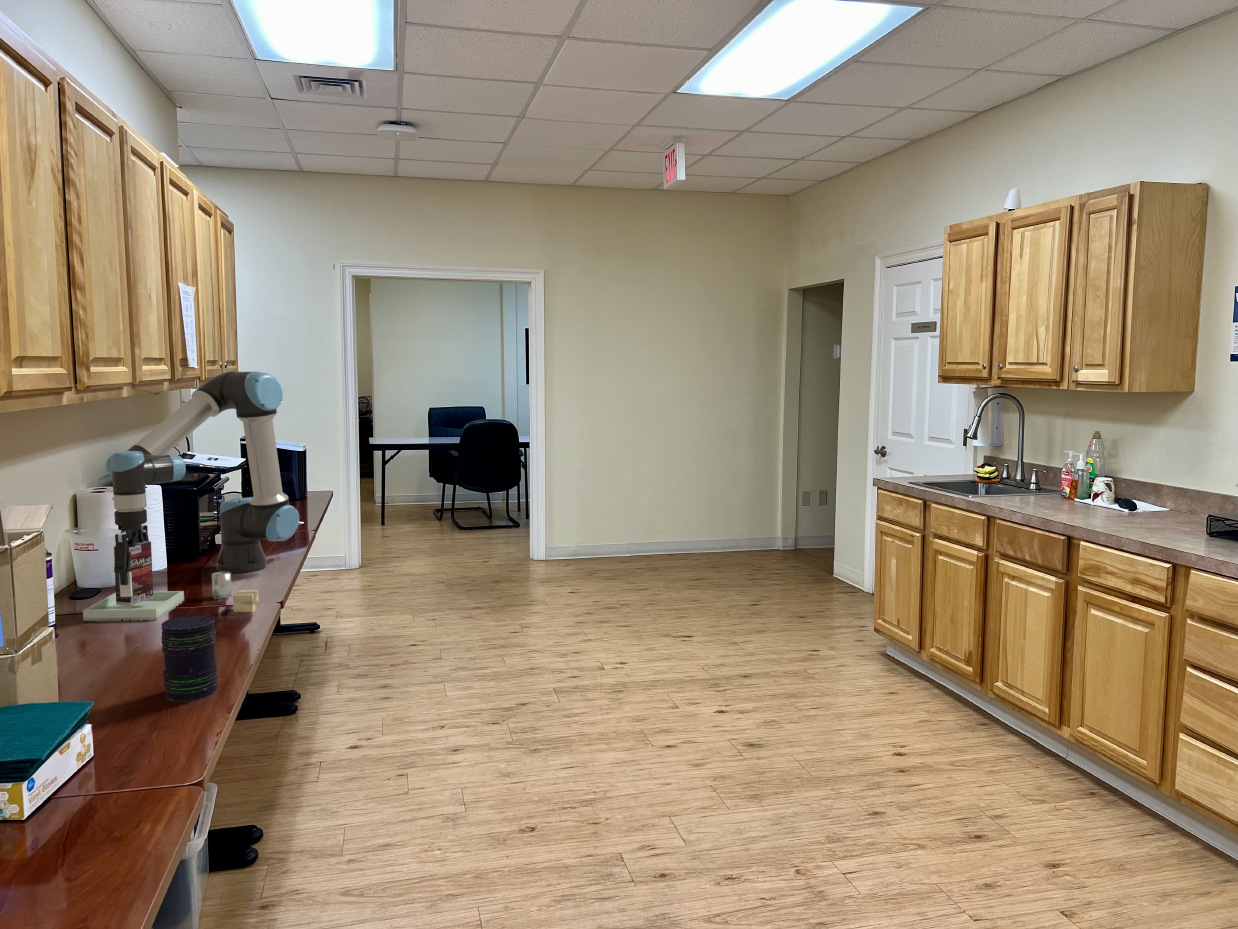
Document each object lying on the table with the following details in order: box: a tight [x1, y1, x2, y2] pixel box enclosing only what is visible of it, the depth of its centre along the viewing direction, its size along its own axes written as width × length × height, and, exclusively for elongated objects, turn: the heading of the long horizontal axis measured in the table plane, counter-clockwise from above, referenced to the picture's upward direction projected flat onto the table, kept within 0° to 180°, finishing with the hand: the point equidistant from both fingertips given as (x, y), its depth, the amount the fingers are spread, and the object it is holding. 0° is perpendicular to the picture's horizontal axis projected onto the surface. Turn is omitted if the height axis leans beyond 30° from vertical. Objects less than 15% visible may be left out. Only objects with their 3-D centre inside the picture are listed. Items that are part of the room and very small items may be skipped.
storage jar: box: [160, 614, 219, 703], centre depth 173 cm, size 10×10×15 cm
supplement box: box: [113, 540, 154, 606], centre depth 229 cm, size 9×5×16 cm, turn 168°
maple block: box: [232, 589, 260, 613], centre depth 232 cm, size 5×5×5 cm
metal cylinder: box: [211, 571, 233, 600], centre depth 245 cm, size 5×5×7 cm
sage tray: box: [82, 590, 185, 623], centre depth 230 cm, size 18×18×3 cm
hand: (135, 591), depth 230 cm, fingers closed on supplement box, 9 cm apart
